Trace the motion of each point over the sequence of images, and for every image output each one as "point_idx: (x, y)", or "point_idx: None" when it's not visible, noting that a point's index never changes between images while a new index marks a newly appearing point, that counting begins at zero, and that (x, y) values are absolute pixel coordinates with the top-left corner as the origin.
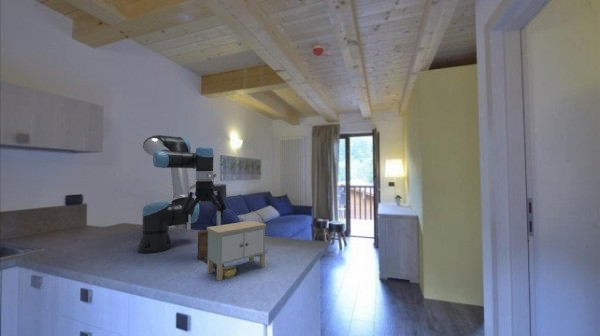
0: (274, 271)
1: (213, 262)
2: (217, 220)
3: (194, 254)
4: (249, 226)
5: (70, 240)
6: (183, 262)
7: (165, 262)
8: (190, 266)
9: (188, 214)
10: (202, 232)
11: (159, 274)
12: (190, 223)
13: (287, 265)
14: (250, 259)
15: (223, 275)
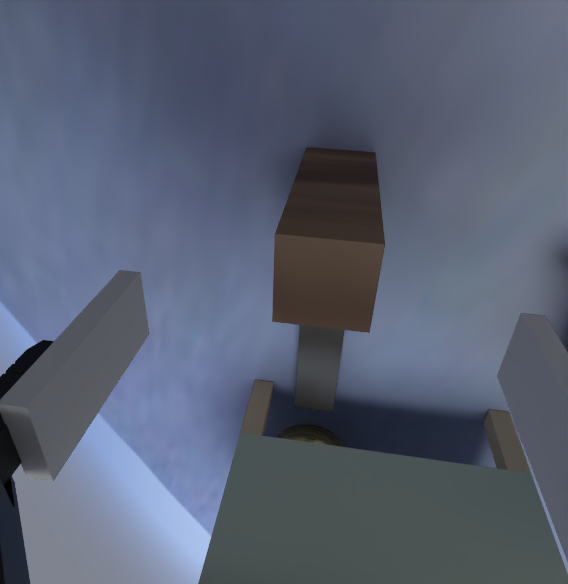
0: None
1: (301, 371)
2: (532, 380)
3: (326, 36)
4: None
5: None
6: (200, 165)
7: (97, 67)
8: (216, 260)
9: (17, 467)
10: (295, 307)
11: (62, 248)
12: (115, 382)
13: None
14: (487, 430)
15: None
